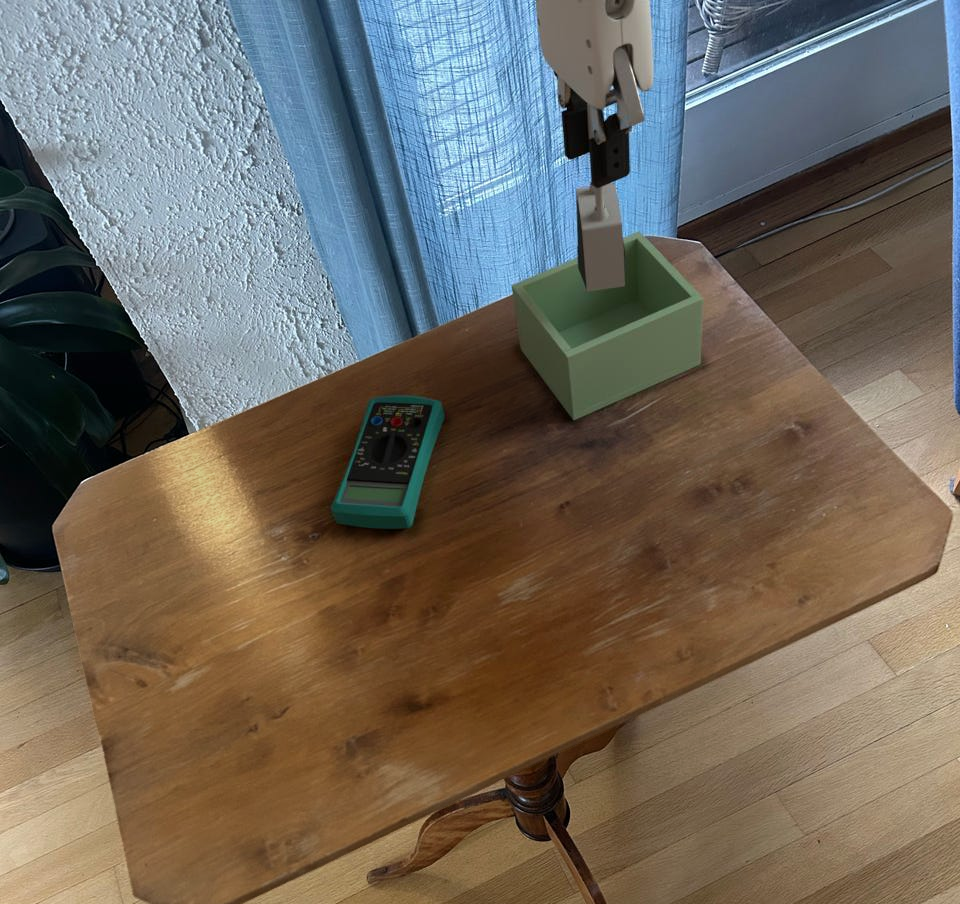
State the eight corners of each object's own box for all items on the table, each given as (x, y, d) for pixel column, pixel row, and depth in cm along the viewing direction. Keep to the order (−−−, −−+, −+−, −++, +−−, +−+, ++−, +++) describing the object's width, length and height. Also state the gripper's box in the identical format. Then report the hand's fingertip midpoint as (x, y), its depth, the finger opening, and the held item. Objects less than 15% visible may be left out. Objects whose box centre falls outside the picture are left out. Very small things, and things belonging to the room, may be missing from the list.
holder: (700, 364, 98) (703, 298, 91) (573, 421, 96) (567, 357, 90) (640, 297, 104) (639, 230, 97) (520, 349, 102) (511, 285, 96)
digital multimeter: (448, 413, 99) (442, 391, 97) (412, 534, 92) (405, 513, 89) (376, 410, 101) (369, 388, 98) (335, 529, 93) (326, 508, 91)
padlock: (629, 285, 89) (625, 120, 77) (581, 292, 90) (569, 129, 77) (620, 237, 93) (614, 72, 80) (574, 244, 93) (561, 81, 81)
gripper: (698, -61, 64) (690, 200, 79) (575, -147, 73) (590, 103, 88) (591, -20, 63) (604, 237, 78) (480, -111, 72) (512, 135, 87)
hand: (596, 164), depth 83 cm, fingers closed on padlock, 3 cm apart
